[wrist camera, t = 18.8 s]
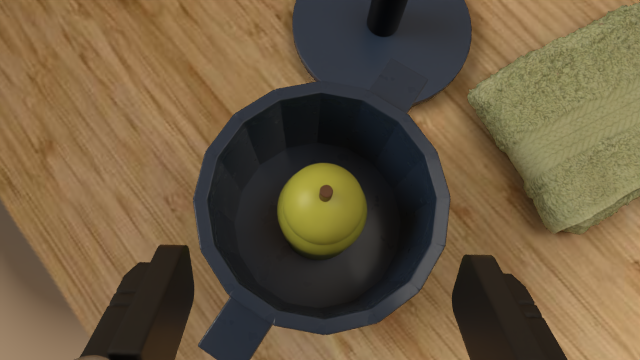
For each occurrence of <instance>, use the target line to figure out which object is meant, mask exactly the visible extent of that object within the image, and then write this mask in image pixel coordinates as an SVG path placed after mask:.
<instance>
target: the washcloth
mask: <svg viewBox="0 0 640 360" xmlns="http://www.w3.org/2000/svg"><path fill="white" fill-rule="evenodd" d="M469 91H470V93H469V94H468V102H469V103H470V105H471V106H472V107H473V108H474V109H475V110H476V113H477V115H478V117H480V118H481V121H482V122H483V123H484V125H486V126H487V130H489V133H491V135H492V137H493V138H494V139H495V142H496V146H497V147H499V149H500V150H501V151H502V152H506V154H507V155H508V156H509V159H510V161H511V162H512V163H513V165H514V167H515V169H516V170H517V171H518V172H519V174H520V175H521V177H522V179H523V180H524V185H523V188H524V190H525V191H526V194H527V196H528V197H529V198H533V202H534V206H535V207H536V208H537V213H538V214H539V215H540V216H541V220H542V222H543V224H544V226H546V228H547V229H549V231H550V232H551V233H553V234H555V233H557V232H559V231H561V230H563V231H564V232H571V233H574V234H578V235H580V234H582V233H584V232H585V231H587V230H588V228H590V226H594V225H598V224H599V223H600V221H603V220H604V219H606V218H607V217H609V216H612V215H613V214H614V212H616V213H617V212H618V209H619V208H620V207H622V206H623V205H628V204H629V202H631V201H632V200H633V199H636V198H638V197H639V196H640V2H639V3H638V4H637V3H635V4H633V5H632V6H631V5H630V6H629V7H628V6H627V5H625V6H623V5H622V6H621V7H619V8H618V9H616V10H615V11H612V12H609V11H608V13H607V14H606V16H604V17H603V18H600V19H599V20H594V21H593V22H592V23H591V24H590V25H587V26H586V27H584V28H581V29H580V28H579V30H577V31H575V32H574V33H570V34H569V35H567V36H566V37H565V38H564V37H560V38H559V39H557V40H553V41H552V42H551V43H549V44H547V45H546V46H544V47H543V48H540V49H539V50H535V51H530V52H529V53H527V54H526V55H525V57H524V56H521V57H519V58H517V59H516V60H515V61H514V62H513V63H510V64H509V65H508V66H506V67H504V68H502V69H500V70H499V72H497V73H496V74H494V75H492V74H491V76H490V78H488V79H486V80H484V81H482V82H481V83H479V84H477V87H476V88H475V89H472V90H470V89H469Z"/></svg>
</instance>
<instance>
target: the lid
mask: <svg viewBox="0 0 640 360" xmlns="http://www.w3.org/2000/svg"><path fill="white" fill-rule="evenodd" d="M471 31H472V29H471V20H470V15H469V11H468V8H467V6H466V3H465V1H464V0H296V3H295V6H294V12H293V36H294V43H295V46H296V49H297V53H298V55H299V57H300V59H301V61H302V63H303V65H304V66H305V68H306V69H307V71H308V72H309V73H310V75H311V76H312V77H313V78H314V79H315V80H316V81H320V82H321V81H326V82H331V83H337V84H342V85H348V86H353V87H359V88H364V89H367V90H370V88H371V87H372V85H373V84H374V82H375V81H376V79H377V78H378V76H379V75H380V73H381V72H382V70H383V69H384V67H385V66H386V64H387V63H388V61H389V60H390V59H391V58H392V59H394V60H396V61H397V62H399V63H401V64H403V65H404V66H406V67H408V68H409V69H411V70H413V71H415V72H416V73H418V74H420V75H421V76H423V77H425V78H426V79H428V81H427V83H426V85H425V86H424V88H423V89H422V91H421V93H420V94H419V96H418V97H417V99H416V100H415V102H414V104H413V105H412V106H414V105H417V104H420V103H422V102H425V101H427V100H429V99H430V98H432V97H434V96H436V95H437V94H438V93H440V92H441V91H442V90H444V89H445V88H446V87H447V86H448V85H449V84H450V83H451V82H452V81H453V79H454V78H455V77H456V75H457V74H458V73H459V71H460V70H461V68H462V66H463V64H464V62H465V61H466V58H467V55H468V52H469V49H470V44H471Z"/></svg>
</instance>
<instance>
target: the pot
mask: <svg viewBox="0 0 640 360" xmlns="http://www.w3.org/2000/svg"><path fill="white" fill-rule="evenodd" d="M427 81H428V79H426V78H425V77H423V76H421V75H420V74H418V73H416V72H415V71H413V70H411V69H409V68H408V67H406V66H404V65H403V64H401V63H399V62H397V61H396V60H394V59H392V58H391V59H390V60H389V61H388V63H387V64H386V66H385V67H384V69H383V70H382V72H381V73H380V75H379V76H378V78H377V79H376V81H375V82H374V84H373V85H372V87H371V88H370V90H367V89H364V88H359V87H353V86H348V85H342V84H337V83H331V82H326V81H321V82H320V81H317V82H312V83H306V84H301V85H295V86H290V87H285V88H279V89H275V90H273V91H271V92H269V93H268V94H266V95H264V96H263V97H261V98H259V99H258V100H256V101H255V102H253V103H251V104H250V105H248V106H246V107H245V108H243V109H241V110H240V111H238V112H237V113H235V114H234V115H233V116H232V117H231V119H230V120H229V121H228V123H227V124H226V125H225V127H224V128H223V129H222V131H221V132H220V133H219V135H218V136H217V137H216V139H215V140H214V141H213V143H212V144H211V145H210V147H209V148H208V149H207V151H206V153H205V155H204V159H203V163H202V167H201V170H200V174H199V178H198V182H197V186H196V190H195V194H194V197H193V200H194V201H193V205H194V211H195V218H196V225H197V231H198V238H199V245H200V249H201V252H202V254H203V256H204V257H205V259H206V260H207V262H208V264H209V265H210V267H211V268H212V270H213V272H214V273H215V275H216V276H217V278H218V280H219V281H220V283H221V284H222V286H223V288H224V289H225V291H226V292H227V294H229V296H230V298H229V299H228V301H227V302H226V304H225V305H224V307H223V308H222V310H221V311H220V313H219V314H218V316H217V317H216V319H215V320H214V322H213V323H212V325H211V326H210V328H209V329H208V330H207V332H206V333H205V335H204V336H203V338H202V339H201V341H200V342H199V344H198V346H199V347H200V348H201V349H203V350H204V351H205V352H207V353H208V354H210V355H211V356H212V357H214V358H215V359H217V360H250V359H251V358H252V356H253V354H254V353H255V351H256V350H257V348H258V347H259V345H260V344H261V342H262V340H263V339H264V337H265V336H266V334H267V333H268V331H269V329H270V328H271V326H272V325H274V326H279V327H284V328H289V329H294V330H300V331H305V332H310V333H316V334H321V335H325V334H326V335H330V334H334V333H338V332H342V331H347V330H351V329H355V328H359V327H364V326H368V325H372V324H377V323H378V322H380V321H382V320H383V319H384V318H386V317H387V316H388V315H390V314H391V313H392V312H394V311H395V310H396V309H397V308H399V307H400V306H401V305H403V304H404V303H405V302H407V301H408V300H409V299H411V298H412V297H413V296H415V295H416V294H417V293H419V291H420V290H421V289H422V287H423V285H424V283H425V282H426V280H427V278H428V276H429V275H430V273H431V271H432V269H433V267H434V266H435V264H436V262H437V260H438V259H439V257H440V255H441V253H442V251H443V250H444V247H445V244H446V235H447V226H448V216H449V207H450V194H449V190H448V187H447V184H446V180H445V177H444V173H443V170H442V166H441V163H440V160H439V156H438V153H437V151H436V149H435V148H434V147H433V145H432V144H431V143H430V142H429V140H428V139H427V138H426V136H425V135H424V134H423V133H422V131H421V130H420V129H419V127H418V126H417V125H416V124H415V122H414V121H413V120H412V119H411V117H410V116H409V115H408V114H407V113H408V111H409V110H410V108H411V107H412V105H413V104H414V102H415V100H416V99H417V97H418V96H419V94H420V93H421V91H422V89H423V88H424V86H425V85H426V83H427ZM317 163H330V164H335V165H338V166H340V167H342V168H344V169H346V170H347V171H349V172H350V173H351V174H352V175H353V176H354V177H355V178H356V180H357V181H358V183H359V184H360V186H361V188H362V191H363V193H364V195H365V199H366V203H367V218H366V222H365V225H364V228H363V230H362V232H361V234H360V235H359V237H358V238H357V240H356V241H355V242H354V243H353V244H352V245H350V246H349V247H348V248H347V249H346V250H344V251H343V252H342V253H341V254H339V255H337V256H335V257H333V258H330V259H326V260H312V259H308V258H305V257H303V256H301V255H299V254H298V253H297V252H295V251H294V250H293V249H292V248H291V247H290V245H289V244H288V243H287V241H286V239H285V237H284V235H283V232H282V230H281V228H280V225H279V222H278V216H277V204H278V199H279V195H280V193H281V191H282V189H283V187H284V185H285V184H286V183H287V182H288V180H289V179H290V178H291V177H292V176H293V175H295V174H296V173H297V172H299V171H300V170H301V169H303V168H305V167H307V166H309V165H312V164H317Z"/></svg>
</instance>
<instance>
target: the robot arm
mask: <svg viewBox="0 0 640 360" xmlns="http://www.w3.org/2000/svg"><path fill="white" fill-rule="evenodd" d="M193 299H194V279H193V273H192V266H191V259H190V253H189V248H188V246H186V245H159V247H158V248H157V250H156V252H155V254H154V256H153V258H152V260H151V262H150V263H147V262H139V263H138V264H137V265H136V266H135V267H133V268H132V269H131V270H130V271H129V272H128V273H127V274H126V275H125V276H124V277H123V279H122V281H121V283H120V285H119V287H118V288H117V292H116V293H115V294H114V296H113V298H112V300H111V301H110V305H109V306H108V307H107V309H106V311H105V312H104V314H103V316H102V318H101V320H100V322H99V323H98V325H97V327H96V329H95V331H94V333H93V334H92V336H91V338H90V340H89V342H88V344H87V346H86V347H85V349H84V351H83V353H82V354H81V356H80V357H79V358H77V359H75V360H175V357H176V354H177V350H178V347H179V344H180V341H181V338H182V335H183V332H184V329H185V326H186V323H187V320H188V317H189V313H190V310H191V307H192V304H193ZM452 307H453V312H454V315H455V318H456V321H457V324H458V326H459V329H460V332H461V335H462V338H463V341H464V343H465V346H466V349H467V352H468V355H469V357H470V360H567V358H566V356H565V354H564V353H563V351H562V349H561V347H560V346H559V344H558V342H557V340H556V339H555V337H554V335H553V334H552V332H551V330H550V328H549V327H548V325H547V323H546V321H545V320H544V318H542V315H541V313H540V311H539V309H538V308H537V306H536V305H534V301H533V299H532V297H531V295H530V294H529V292H528V290H527V289H526V287H525V286H524V285H523V284H522V283H521V282H519V281H518V280H517V279H516V278H515V277H514V276H513V275H512V274H503V273H502V271H501V269H500V267H499V265H498V263H497V261H496V260H495V258H494V257H493V256H491V255H464V257H463V258H462V261H461V265H460V268H459V272H458V275H457V279H456V282H455V286H454V289H453V293H452Z"/></svg>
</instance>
